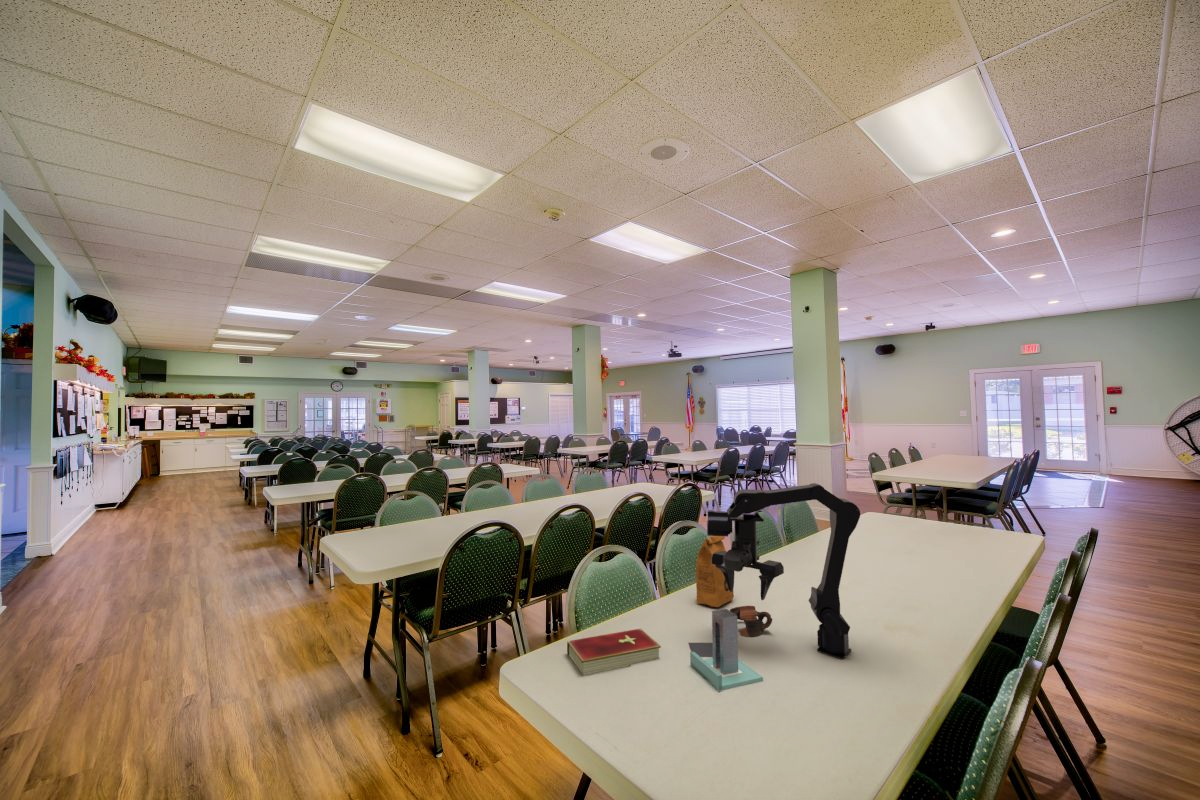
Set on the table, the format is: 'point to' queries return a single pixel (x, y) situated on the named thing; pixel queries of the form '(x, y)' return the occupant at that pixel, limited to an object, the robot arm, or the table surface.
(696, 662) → the teal base plate
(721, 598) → the coffee package
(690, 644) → the mat
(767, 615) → the pottery mug
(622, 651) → the hardcover book
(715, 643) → the grey tower block
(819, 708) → the table surface
